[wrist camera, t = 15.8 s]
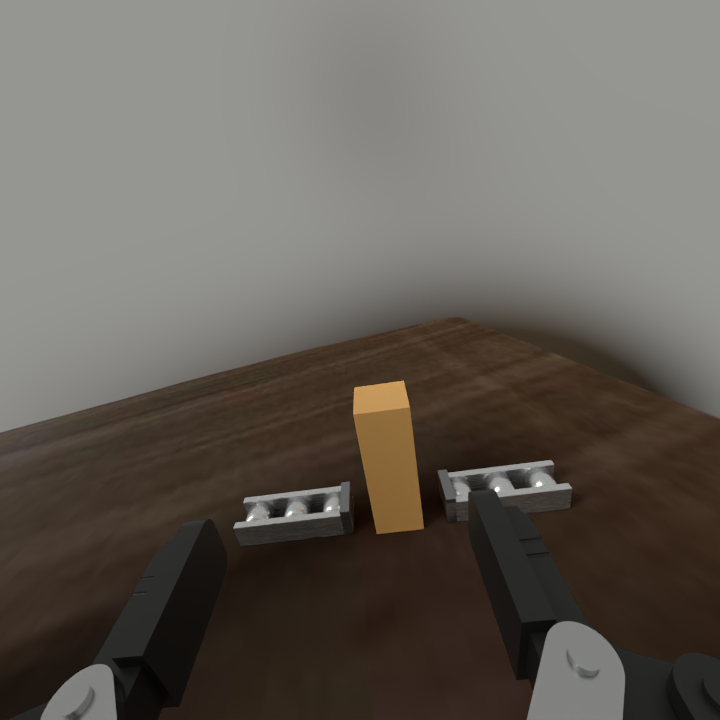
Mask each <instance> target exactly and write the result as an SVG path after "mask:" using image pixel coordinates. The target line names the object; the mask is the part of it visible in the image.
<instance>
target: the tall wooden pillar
mask: <svg viewBox="0 0 720 720" xmlns="http://www.w3.org/2000/svg"><path fill="white" fill-rule="evenodd" d="M353 416H354V421H355V426H356V431H357V436H358V441H359V446H360V451H361V457H362V462H363V467H364V472H365V477H366V482H367V487H368V492H369V497H370V503H371V508H372V513H373V518H374V523H375V528H376V533H377V534H382V533H392V532H401V531H410V530H419V529H424V524H423V515H422V507H421V498H420V490H419V481H418V473H417V464H416V456H415V447H414V439H413V430H412V422H411V413H410V406H409V402H408V398H407V393H406V389H405V385H404V381H398V382H391V383H384V384H377V385H369V386H362V387H355V388H354V410H353Z"/></svg>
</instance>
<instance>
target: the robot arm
mask: <svg viewBox="0 0 720 720" xmlns="http://www.w3.org/2000/svg"><path fill="white" fill-rule="evenodd" d="M468 527H469V535H470V540H471V544H472V548H473V551H474V554H475V557H476V560H477V563H478V566H479V569H480V572H481V575H482V578H483V581H484V584H485V587H486V590H487V593H488V596H489V599H490V602H491V605H492V608H493V611H494V614H495V617H496V620H497V623H498V626H499V629H500V632H501V635H502V638H503V641H504V644H505V647H506V650H507V653H508V656H509V659H510V662H511V665H512V668H513V671H514V674H515V677H516V680H521V679H529V681H530V683H531V686H532V689H533V696H532V700H531V704H530V708H529V713H528V717H527V720H720V660H719V659H717V658H714V657H712V656H709V655H705V654H701V653H686V654H683V655H681V656H680V657H678V658H677V659H676V661H675V663H670V662H666V661H663V660H659V659H655V658H651V657H647V656H644V655H640V654H636V653H633V652H630V651H627V650H624V649H622V648H620V647H618V646H616V645H614V644H613V643H611V642H609V641H608V640H607V639H605V638H604V637H603V636H601V635H600V634H599V633H598V632H597V631H596V630H595V629H594V628H593V627H592V626H591V625H590V624H589V622H588V621H587V620H586V618H585V617H584V615H583V613H582V612H581V610H580V608H579V606H578V604H577V602H576V601H575V599H574V597H573V595H572V593H571V591H570V590H569V588H568V586H567V584H566V582H565V580H564V579H563V577H562V575H561V573H560V571H559V569H558V567H557V566H556V564H555V562H554V560H553V558H552V556H550V554H549V551H548V549H547V547H546V545H545V544H544V542H543V541H542V539H541V536H540V534H539V533H538V531H537V529H536V527H535V525H534V523H533V521H532V520H531V519H530V518H529V517H528V516H527V515H526V514H525V513H524V512H523V511H521V510H520V509H519V508H518V507H517V506H511V507H503V505H502V503H501V501H500V499H499V497H498V495H497V493H496V491H495V490H494V489H488V490H479V491H470V492H469V493H468ZM226 568H227V553H226V549H225V547H224V545H223V543H222V540H221V538H220V536H219V534H218V531H217V529H216V527H215V525H214V523H213V521H212V520H210V519H208V520H199V521H190V522H185V523H184V524H183V525H182V526H181V528H180V529H179V531H178V533H177V535H176V537H175V539H174V541H173V542H167V543H166V544H165V545H164V546H163V547H162V548H161V549H160V550H159V552H158V553H157V554H156V555H155V556H154V557H153V558H152V559H151V561H150V563H149V564H148V566H147V568H146V570H145V571H144V573H143V575H142V577H141V581H139V582H138V584H137V586H136V587H135V589H134V591H133V595H132V597H130V598H129V600H128V602H127V603H126V605H125V607H124V609H123V611H122V612H121V614H120V616H119V618H118V619H117V621H116V623H115V625H114V627H113V628H112V630H111V632H110V634H109V635H108V637H107V639H106V641H105V642H104V644H103V646H102V648H101V650H100V651H99V653H98V655H97V657H96V658H95V660H94V661H93V663H92V664H91V666H89V667H87V668H85V669H83V670H81V671H79V672H78V673H76V674H75V675H74V676H72V677H71V678H70V679H69V680H68V681H67V682H65V683H64V684H63V685H62V686H61V688H60V689H59V690H58V691H57V692H56V693H55V695H54V696H53V697H52V699H51V700H50V701H48V702H46V703H44V704H41V705H39V706H37V707H35V708H32V709H30V710H28V711H26V712H24V713H21V714H19V715H17V716H15V717H12V718H10V719H8V720H158V717H159V715H160V712H161V709H162V708H166V707H178V706H180V703H181V700H182V697H183V694H184V691H185V688H186V685H187V682H188V680H189V677H190V674H191V671H192V668H193V665H194V662H195V659H196V656H197V654H198V651H199V648H200V645H201V642H202V639H203V636H204V633H205V630H206V628H207V625H208V622H209V619H210V616H211V613H212V610H213V607H214V604H215V602H216V599H217V596H218V593H219V590H220V587H221V584H222V581H223V578H224V576H225V572H226ZM0 720H5V719H3V718H2V717H1V716H0Z"/></svg>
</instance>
